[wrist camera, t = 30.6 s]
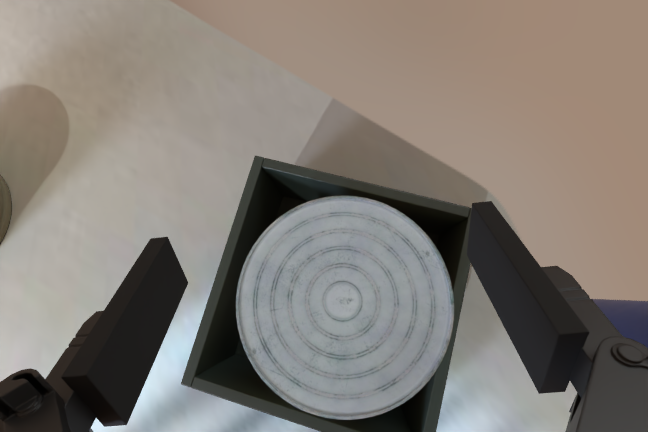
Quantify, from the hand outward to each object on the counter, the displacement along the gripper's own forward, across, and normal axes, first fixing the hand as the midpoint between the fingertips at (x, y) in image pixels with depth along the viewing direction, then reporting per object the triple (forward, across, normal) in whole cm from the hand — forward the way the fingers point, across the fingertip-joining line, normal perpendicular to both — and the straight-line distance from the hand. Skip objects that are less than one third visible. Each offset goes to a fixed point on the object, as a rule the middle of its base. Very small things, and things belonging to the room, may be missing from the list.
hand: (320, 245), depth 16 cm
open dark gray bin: (+10, 0, -13) cm, 16 cm away
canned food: (+9, 0, -13) cm, 16 cm away
